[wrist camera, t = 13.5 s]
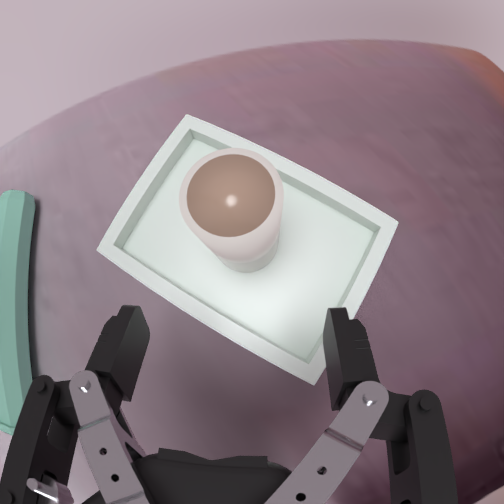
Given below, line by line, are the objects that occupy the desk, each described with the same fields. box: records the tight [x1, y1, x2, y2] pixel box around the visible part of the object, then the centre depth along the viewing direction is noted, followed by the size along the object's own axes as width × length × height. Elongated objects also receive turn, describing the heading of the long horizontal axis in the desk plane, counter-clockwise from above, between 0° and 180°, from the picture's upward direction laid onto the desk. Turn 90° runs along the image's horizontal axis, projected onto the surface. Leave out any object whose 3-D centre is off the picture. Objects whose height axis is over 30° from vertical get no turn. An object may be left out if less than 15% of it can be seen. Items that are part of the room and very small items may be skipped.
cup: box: [179, 148, 284, 273], centre depth 19 cm, size 5×5×10 cm
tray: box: [97, 114, 399, 385], centre depth 24 cm, size 20×14×2 cm
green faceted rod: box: [0, 190, 35, 435], centre depth 23 cm, size 6×6×25 cm
